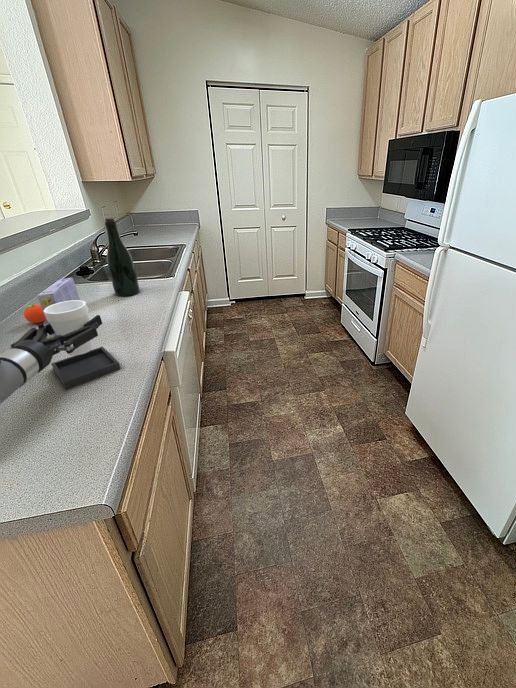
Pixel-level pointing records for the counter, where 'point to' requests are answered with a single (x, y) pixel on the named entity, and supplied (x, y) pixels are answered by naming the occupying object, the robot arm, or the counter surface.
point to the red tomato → (34, 313)
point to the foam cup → (69, 320)
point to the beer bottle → (120, 263)
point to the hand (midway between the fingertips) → (81, 319)
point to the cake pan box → (58, 294)
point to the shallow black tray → (85, 367)
